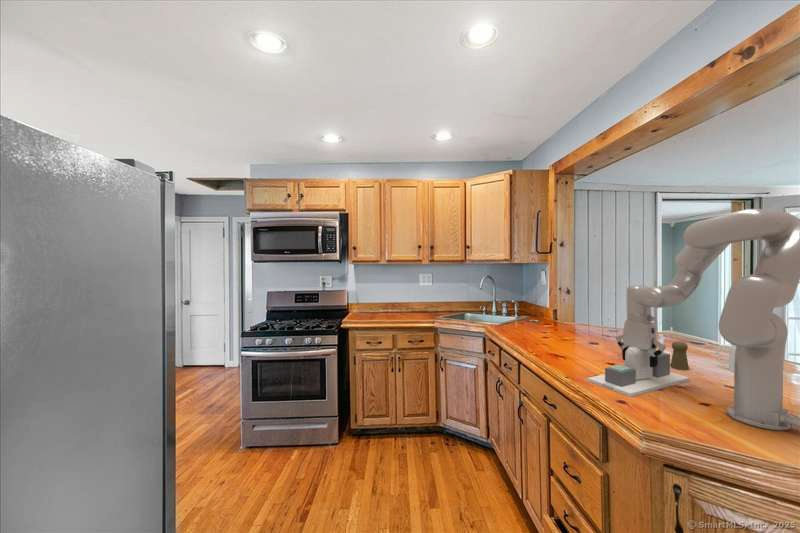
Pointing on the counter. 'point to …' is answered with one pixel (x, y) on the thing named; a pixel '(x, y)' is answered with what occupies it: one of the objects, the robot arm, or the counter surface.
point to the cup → (731, 356)
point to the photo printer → (639, 362)
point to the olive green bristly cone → (679, 356)
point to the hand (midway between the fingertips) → (639, 363)
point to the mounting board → (627, 384)
